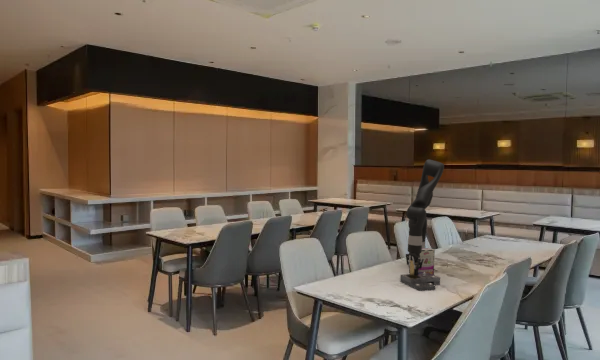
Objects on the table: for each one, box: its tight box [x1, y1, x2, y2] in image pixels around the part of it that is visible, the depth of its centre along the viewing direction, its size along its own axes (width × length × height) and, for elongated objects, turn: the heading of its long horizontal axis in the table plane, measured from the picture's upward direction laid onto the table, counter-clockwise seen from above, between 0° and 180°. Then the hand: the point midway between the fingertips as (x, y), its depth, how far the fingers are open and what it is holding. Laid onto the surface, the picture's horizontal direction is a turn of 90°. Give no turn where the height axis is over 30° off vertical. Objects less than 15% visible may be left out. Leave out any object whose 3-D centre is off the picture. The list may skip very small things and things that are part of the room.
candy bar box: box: [418, 247, 436, 275], centre depth 260 cm, size 11×5×16 cm, turn 105°
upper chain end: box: [399, 272, 441, 286], centre depth 246 cm, size 10×19×5 cm, turn 110°
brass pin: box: [409, 260, 417, 278], centre depth 244 cm, size 4×4×12 cm
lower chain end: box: [399, 277, 436, 292], centre depth 240 cm, size 18×10×3 cm, turn 20°
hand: (413, 274), depth 244 cm, fingers closed on brass pin, 4 cm apart
